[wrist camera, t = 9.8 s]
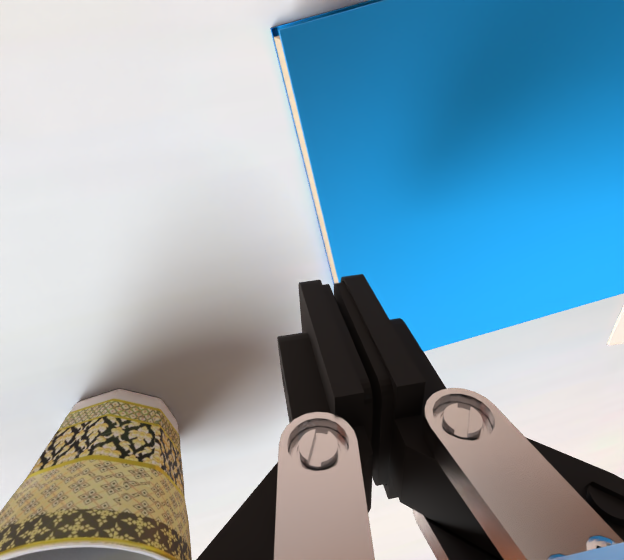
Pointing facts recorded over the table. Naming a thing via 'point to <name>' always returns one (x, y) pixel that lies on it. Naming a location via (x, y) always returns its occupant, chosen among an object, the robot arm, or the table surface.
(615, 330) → the mat
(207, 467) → the table surface
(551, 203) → the book
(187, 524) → the ceramic cup
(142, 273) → the table surface
